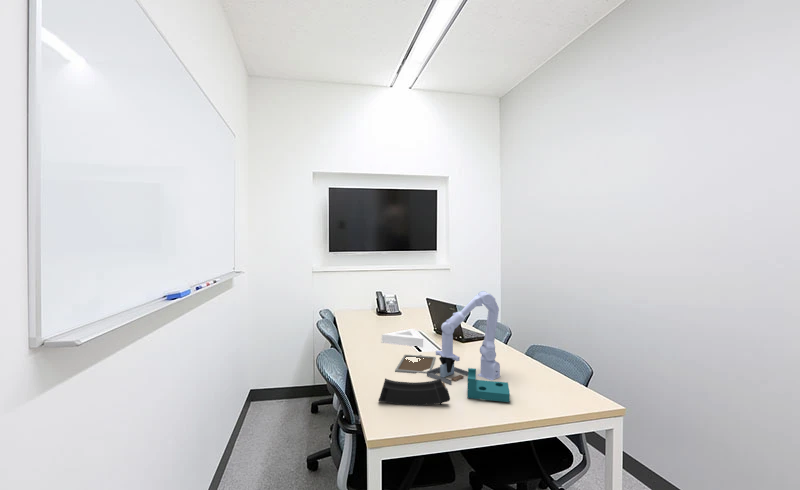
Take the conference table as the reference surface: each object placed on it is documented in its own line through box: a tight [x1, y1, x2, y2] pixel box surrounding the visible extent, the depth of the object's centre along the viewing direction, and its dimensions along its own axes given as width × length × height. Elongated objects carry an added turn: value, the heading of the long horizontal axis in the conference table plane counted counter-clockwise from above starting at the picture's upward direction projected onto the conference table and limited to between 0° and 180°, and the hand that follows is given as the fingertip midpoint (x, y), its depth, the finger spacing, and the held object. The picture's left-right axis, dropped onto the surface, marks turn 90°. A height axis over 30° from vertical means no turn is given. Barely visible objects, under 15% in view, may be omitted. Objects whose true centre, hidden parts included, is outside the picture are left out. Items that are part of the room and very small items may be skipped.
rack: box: [426, 366, 468, 386], centre depth 185 cm, size 16×17×3 cm
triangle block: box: [381, 327, 424, 348], centre depth 247 cm, size 30×26×6 cm
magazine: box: [378, 377, 451, 406], centre depth 154 cm, size 17×3×30 cm
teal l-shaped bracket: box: [466, 367, 511, 403], centre depth 161 cm, size 18×11×10 cm, turn 78°
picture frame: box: [394, 354, 437, 375], centre depth 205 cm, size 19×2×30 cm
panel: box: [439, 362, 455, 378], centre depth 186 cm, size 2×9×6 cm, turn 133°
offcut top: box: [451, 374, 465, 383], centre depth 181 cm, size 2×7×1 cm, turn 132°
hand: (447, 371), depth 186 cm, fingers closed on panel, 2 cm apart
